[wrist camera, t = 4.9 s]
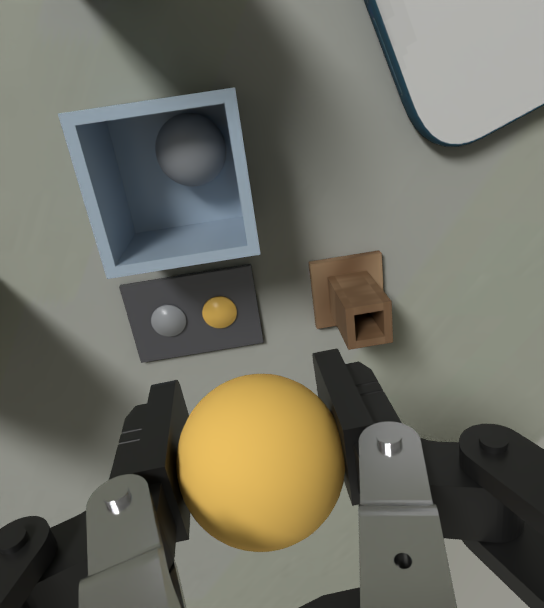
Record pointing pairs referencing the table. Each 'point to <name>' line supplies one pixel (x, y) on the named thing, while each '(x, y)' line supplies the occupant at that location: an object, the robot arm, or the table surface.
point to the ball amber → (260, 462)
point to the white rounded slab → (463, 62)
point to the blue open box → (160, 187)
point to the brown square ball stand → (352, 298)
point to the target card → (193, 313)
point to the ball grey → (190, 149)
